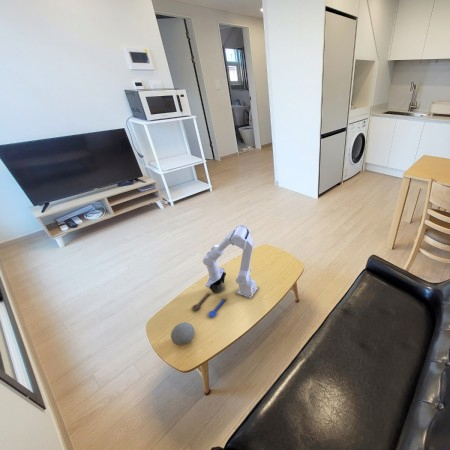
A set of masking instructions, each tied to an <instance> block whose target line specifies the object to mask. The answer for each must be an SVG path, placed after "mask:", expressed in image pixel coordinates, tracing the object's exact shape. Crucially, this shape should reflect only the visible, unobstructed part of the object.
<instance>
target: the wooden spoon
mask: <svg viewBox="0 0 450 450" xmlns="http://www.w3.org/2000/svg"><path fill="white" fill-rule="evenodd" d="M209 296H210V293H206V295H204V297H203V298H202V299H201V300H200V301H199V302H198V303H197V304H194V305H193V306H192V311H194V312H197V311H198V310H200V308H201V305H202V304H203V303H204V301H206V300H207V298H208V297H209Z"/></svg>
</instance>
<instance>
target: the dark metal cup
mask: <svg viewBox="0 0 450 450" xmlns="http://www.w3.org/2000/svg"><path fill="white" fill-rule="evenodd" d="M213 284H214V285H216V293H221V292H223V291H224V289H225V288H224V283H222V280H221V279H219V280H217V281H216V282H214V283H213Z"/></svg>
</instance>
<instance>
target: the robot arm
mask: <svg viewBox="0 0 450 450" xmlns="http://www.w3.org/2000/svg"><path fill="white" fill-rule="evenodd" d="M251 235H252V234H251V230H250V229H249V228H248V227H247V226H246V225H244V224H239V225H237V226H236V227H235V228H233V230H231V231H230V232H229V233H228V234H227V236H226V237H225V238H224V239H223V240H222V241H221V242H220V243H219V244H216V245H212V247H211V248H210V250H209V251H207V252H206V254H205V256H204V258H203V260H202V263H203V265H205V266H206V269H207V272H208V277H209V278H208V280H207V282H206V283H205V287H206V288H208V289H210V291H211V292H212V293H214V294H216V293H217V292H216V285H214V284H213V283H214V282H216V281H217V280H219V279H221V280H222V283H223V284H225V279H226V275H227V273H226V268H225V267H221V268H219V264H218V259H219V258H220V257H222V255H223V254H224V253H225V249H226V248H228V247H229V246H230V245H232V246H236V247H238V248H239V249H242V255H241V261H240V266H239V267H240V268H239V271H238V274H237V276H236V278H235V282H236V284H237V285H238V288H239V289H238V290H237V292H236V294H238V295H241V296H244V297H246V298H250V299H251V298H252V297H253V296H254V294H255V293H256V291H257V290H258V289H259V288H258V286H257V281H256V280H253V279H252V278H251V273H252V269H251V261H252V256H253V250H254V245H255V244H254V243H255V242H254V240H253V238H252V236H251Z"/></svg>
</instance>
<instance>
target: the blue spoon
mask: <svg viewBox="0 0 450 450" xmlns="http://www.w3.org/2000/svg"><path fill="white" fill-rule="evenodd" d="M225 301H226V299H224V298H223V299H222V300H221V301H220V302H219V304H218V305H217V306H216V307H215V308H214V310H211V311H209V312H208V317H209V318H214V317H216V315H217V311H218V310H219V308H221V306H222V305H223V304H224V302H225Z"/></svg>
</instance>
